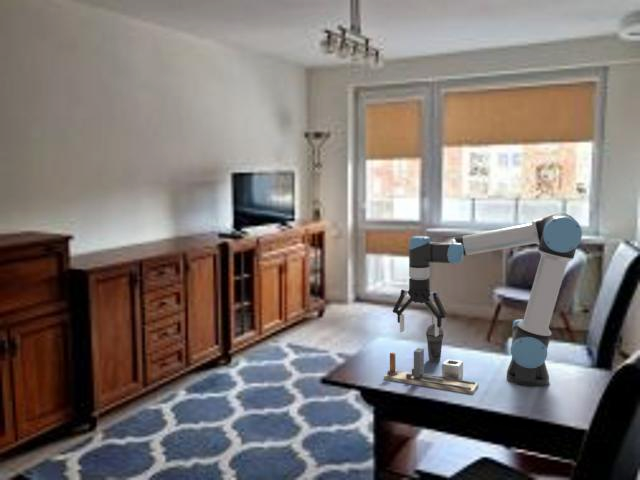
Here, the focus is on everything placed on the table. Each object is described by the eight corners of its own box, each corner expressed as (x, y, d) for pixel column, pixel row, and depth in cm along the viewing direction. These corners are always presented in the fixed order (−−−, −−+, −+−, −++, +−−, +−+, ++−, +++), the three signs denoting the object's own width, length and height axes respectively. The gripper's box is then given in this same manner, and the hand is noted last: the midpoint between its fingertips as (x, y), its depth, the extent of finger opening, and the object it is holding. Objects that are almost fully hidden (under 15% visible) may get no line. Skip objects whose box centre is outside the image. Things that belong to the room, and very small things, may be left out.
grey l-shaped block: (444, 379, 216) (445, 351, 215) (441, 383, 212) (441, 355, 211) (417, 374, 221) (417, 348, 220) (413, 378, 217) (413, 351, 216)
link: (462, 376, 223) (463, 361, 222) (458, 381, 217) (458, 366, 217) (446, 373, 226) (446, 358, 225) (441, 378, 220) (442, 363, 220)
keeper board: (478, 386, 212) (478, 362, 211) (472, 394, 205) (473, 369, 204) (391, 372, 228) (391, 349, 227) (383, 379, 221) (383, 355, 220)
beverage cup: (443, 364, 237) (444, 316, 235) (425, 363, 239) (425, 315, 236) (443, 358, 244) (443, 312, 242) (425, 357, 246) (426, 311, 243)
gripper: (455, 278, 211) (454, 334, 214) (391, 273, 223) (391, 327, 226) (449, 282, 205) (449, 340, 207) (384, 277, 217) (384, 332, 219)
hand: (419, 333), depth 217 cm, fingers open, 13 cm apart
